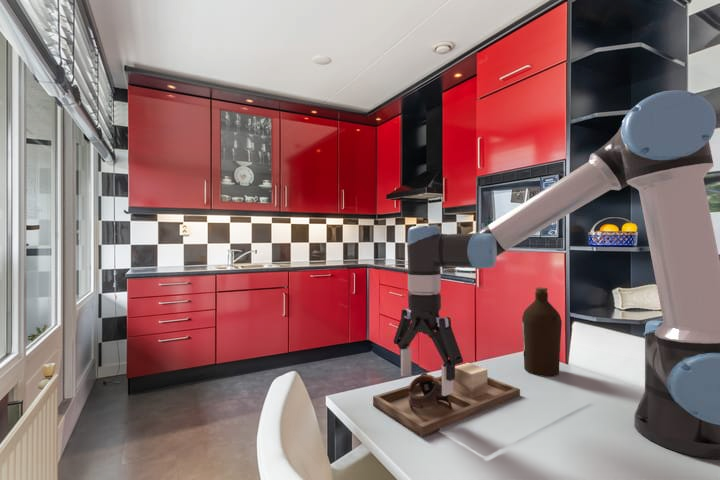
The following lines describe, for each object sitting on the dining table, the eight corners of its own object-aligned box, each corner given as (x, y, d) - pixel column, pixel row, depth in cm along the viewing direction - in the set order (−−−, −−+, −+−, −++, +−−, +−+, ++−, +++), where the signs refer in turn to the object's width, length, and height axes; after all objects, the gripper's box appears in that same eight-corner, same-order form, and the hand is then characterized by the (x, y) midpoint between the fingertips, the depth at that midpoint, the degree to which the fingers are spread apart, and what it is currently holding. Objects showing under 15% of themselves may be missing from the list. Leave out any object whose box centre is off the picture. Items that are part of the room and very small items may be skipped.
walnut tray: (519, 397, 91) (520, 389, 91) (422, 437, 73) (422, 426, 73) (465, 376, 105) (465, 368, 105) (373, 405, 87) (373, 396, 87)
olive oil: (566, 371, 109) (566, 288, 109) (554, 380, 102) (554, 291, 102) (529, 362, 117) (529, 284, 117) (516, 370, 109) (516, 288, 109)
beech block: (487, 392, 92) (487, 369, 92) (471, 398, 89) (471, 374, 89) (468, 384, 97) (468, 362, 97) (453, 390, 94) (453, 367, 94)
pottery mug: (460, 417, 81) (447, 389, 78) (422, 435, 81) (407, 408, 79) (443, 382, 92) (431, 357, 90) (410, 398, 93) (397, 374, 90)
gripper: (479, 297, 76) (480, 399, 76) (401, 285, 97) (402, 365, 97) (454, 301, 72) (455, 408, 72) (379, 288, 93) (380, 371, 93)
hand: (425, 384), depth 84 cm, fingers open, 13 cm apart
